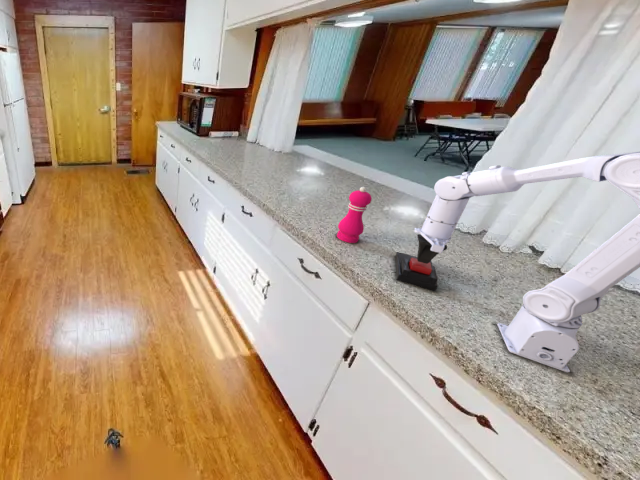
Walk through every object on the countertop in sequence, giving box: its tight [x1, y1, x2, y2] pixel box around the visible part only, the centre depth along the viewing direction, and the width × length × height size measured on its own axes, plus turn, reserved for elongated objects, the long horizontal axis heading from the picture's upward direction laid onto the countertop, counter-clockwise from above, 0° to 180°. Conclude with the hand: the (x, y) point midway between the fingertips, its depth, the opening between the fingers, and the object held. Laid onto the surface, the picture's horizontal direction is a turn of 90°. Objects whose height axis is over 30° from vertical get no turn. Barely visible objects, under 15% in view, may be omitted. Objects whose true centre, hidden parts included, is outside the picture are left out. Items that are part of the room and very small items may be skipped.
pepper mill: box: [336, 186, 373, 244], centre depth 101 cm, size 7×7×20 cm
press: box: [394, 251, 439, 292], centre depth 86 cm, size 14×8×4 cm, turn 142°
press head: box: [409, 258, 432, 275], centre depth 83 cm, size 4×4×2 cm
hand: (422, 261), depth 82 cm, fingers closed
